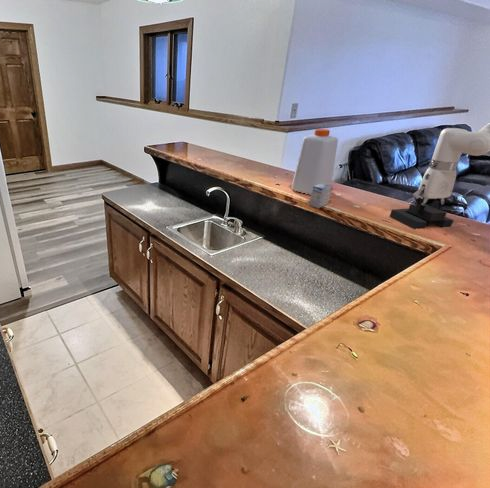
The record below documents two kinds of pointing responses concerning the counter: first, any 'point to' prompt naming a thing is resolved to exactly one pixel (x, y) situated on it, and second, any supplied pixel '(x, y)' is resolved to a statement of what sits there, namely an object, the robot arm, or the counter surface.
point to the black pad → (429, 213)
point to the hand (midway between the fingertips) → (425, 213)
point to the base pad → (416, 219)
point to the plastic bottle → (315, 161)
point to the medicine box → (320, 195)
